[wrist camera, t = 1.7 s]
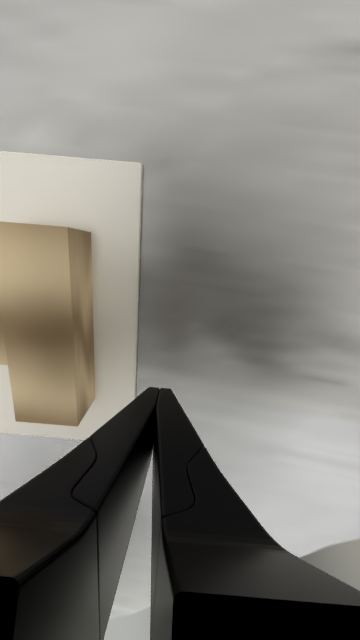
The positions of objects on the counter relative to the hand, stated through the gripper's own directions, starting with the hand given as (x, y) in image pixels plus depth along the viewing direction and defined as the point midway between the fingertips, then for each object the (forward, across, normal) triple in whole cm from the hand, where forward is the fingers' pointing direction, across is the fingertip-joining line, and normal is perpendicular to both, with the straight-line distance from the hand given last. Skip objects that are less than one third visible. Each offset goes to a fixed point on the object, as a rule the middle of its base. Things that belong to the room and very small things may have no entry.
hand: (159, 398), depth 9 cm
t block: (+8, +11, 0) cm, 14 cm away
